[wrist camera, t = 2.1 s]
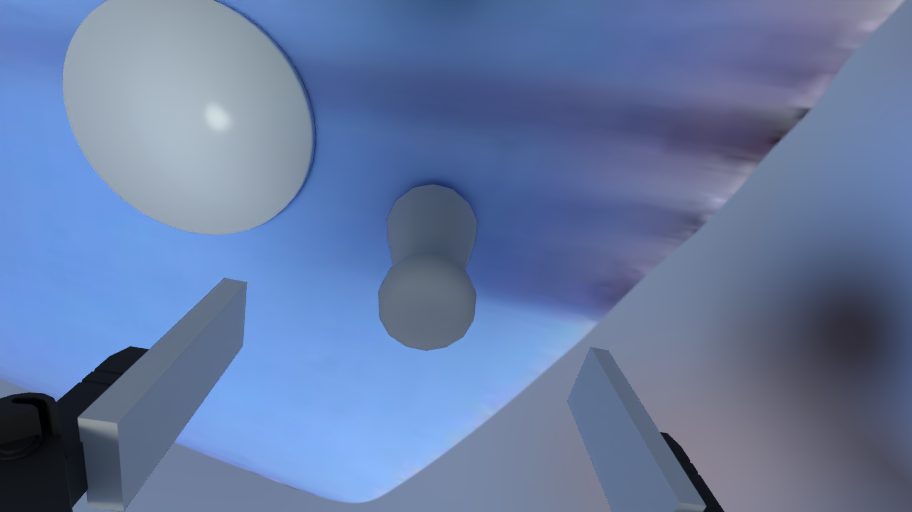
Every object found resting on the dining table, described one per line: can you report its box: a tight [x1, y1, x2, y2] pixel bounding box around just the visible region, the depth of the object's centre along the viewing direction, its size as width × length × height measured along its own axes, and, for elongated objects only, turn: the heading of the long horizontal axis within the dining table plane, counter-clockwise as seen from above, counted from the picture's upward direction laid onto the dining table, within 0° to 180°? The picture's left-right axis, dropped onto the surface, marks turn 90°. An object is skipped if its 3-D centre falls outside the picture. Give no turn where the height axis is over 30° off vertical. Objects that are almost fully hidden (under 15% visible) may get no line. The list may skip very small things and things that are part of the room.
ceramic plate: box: [63, 0, 315, 235], centre depth 26 cm, size 14×14×1 cm
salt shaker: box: [378, 184, 477, 351], centre depth 23 cm, size 6×6×13 cm
